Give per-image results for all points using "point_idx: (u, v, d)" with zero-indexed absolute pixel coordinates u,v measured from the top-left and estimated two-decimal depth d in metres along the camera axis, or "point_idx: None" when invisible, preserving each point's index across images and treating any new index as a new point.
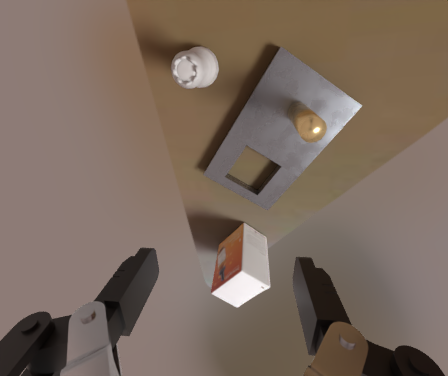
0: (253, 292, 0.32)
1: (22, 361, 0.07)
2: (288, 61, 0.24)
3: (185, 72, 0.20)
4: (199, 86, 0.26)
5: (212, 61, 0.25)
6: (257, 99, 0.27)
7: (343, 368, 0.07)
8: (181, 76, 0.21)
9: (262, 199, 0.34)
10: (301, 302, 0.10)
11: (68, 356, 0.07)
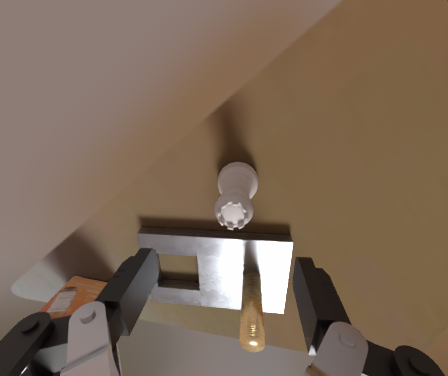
0: None
1: (22, 361, 0.07)
2: (285, 253, 0.26)
3: (231, 215, 0.17)
4: (221, 193, 0.23)
5: (250, 196, 0.23)
6: (242, 245, 0.26)
7: (343, 368, 0.07)
8: (225, 212, 0.17)
9: (158, 292, 0.31)
10: (301, 302, 0.10)
11: (68, 356, 0.07)
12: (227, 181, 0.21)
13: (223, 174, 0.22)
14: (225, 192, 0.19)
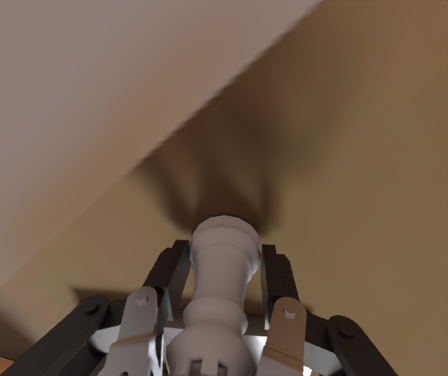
0: None
1: (78, 341, 0.07)
2: None
3: None
4: None
5: None
6: None
7: (290, 337, 0.07)
8: None
9: None
10: (263, 284, 0.11)
11: (119, 332, 0.08)
12: (203, 263, 0.11)
13: (197, 242, 0.12)
14: (193, 306, 0.09)
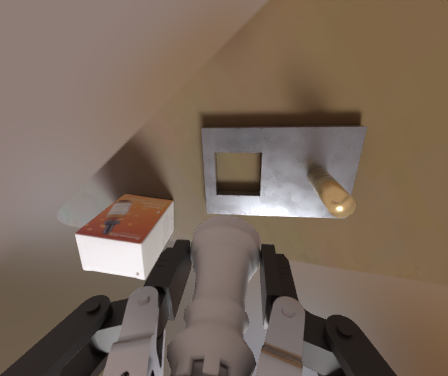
0: (122, 270, 0.25)
1: (80, 341, 0.07)
2: (357, 140, 0.25)
3: None
4: None
5: None
6: (312, 134, 0.25)
7: (289, 337, 0.07)
8: None
9: (215, 202, 0.30)
10: (262, 284, 0.11)
11: (121, 332, 0.08)
12: (204, 263, 0.11)
13: (198, 241, 0.12)
14: (194, 305, 0.09)
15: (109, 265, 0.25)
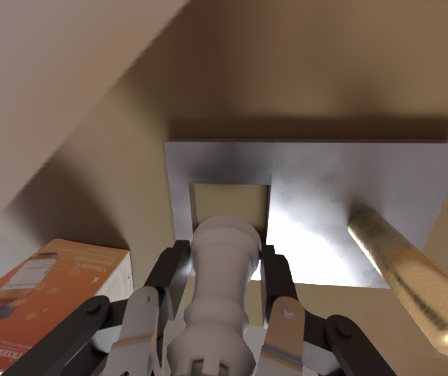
0: None
1: (80, 341, 0.07)
2: (445, 168, 0.14)
3: None
4: None
5: None
6: (363, 156, 0.14)
7: (289, 337, 0.07)
8: None
9: None
10: (262, 284, 0.11)
11: (121, 332, 0.08)
12: (204, 263, 0.11)
13: (197, 242, 0.12)
14: (194, 306, 0.09)
15: None
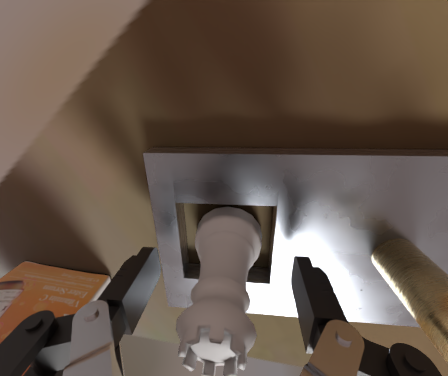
0: None
1: (26, 359, 0.07)
2: None
3: (209, 350, 0.08)
4: None
5: None
6: (395, 172, 0.11)
7: (339, 366, 0.07)
8: (196, 346, 0.08)
9: (183, 289, 0.16)
10: (299, 301, 0.10)
11: (71, 354, 0.07)
12: (208, 249, 0.12)
13: (202, 231, 0.13)
14: (200, 285, 0.10)
15: None
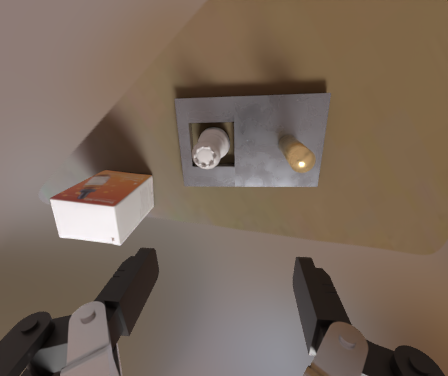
0: (97, 236, 0.26)
1: (22, 361, 0.07)
2: (322, 107, 0.26)
3: (203, 157, 0.23)
4: None
5: (223, 153, 0.29)
6: (280, 102, 0.26)
7: (342, 368, 0.07)
8: (199, 155, 0.23)
9: (192, 174, 0.31)
10: (301, 302, 0.10)
11: (68, 356, 0.07)
12: (204, 139, 0.27)
13: (201, 136, 0.28)
14: None
15: (85, 231, 0.26)
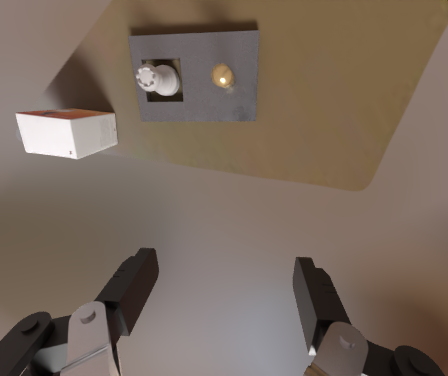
0: (57, 150, 0.30)
1: (22, 361, 0.07)
2: (253, 44, 0.30)
3: (145, 78, 0.28)
4: None
5: (172, 88, 0.33)
6: (217, 39, 0.30)
7: (342, 369, 0.06)
8: (141, 76, 0.28)
9: (147, 109, 0.35)
10: (301, 302, 0.10)
11: (68, 356, 0.07)
12: None
13: None
14: None
15: (46, 145, 0.30)
